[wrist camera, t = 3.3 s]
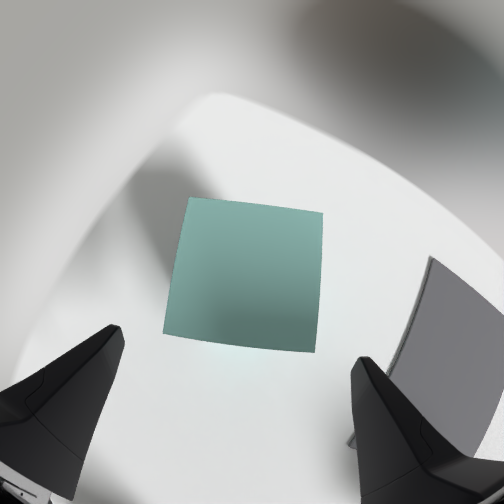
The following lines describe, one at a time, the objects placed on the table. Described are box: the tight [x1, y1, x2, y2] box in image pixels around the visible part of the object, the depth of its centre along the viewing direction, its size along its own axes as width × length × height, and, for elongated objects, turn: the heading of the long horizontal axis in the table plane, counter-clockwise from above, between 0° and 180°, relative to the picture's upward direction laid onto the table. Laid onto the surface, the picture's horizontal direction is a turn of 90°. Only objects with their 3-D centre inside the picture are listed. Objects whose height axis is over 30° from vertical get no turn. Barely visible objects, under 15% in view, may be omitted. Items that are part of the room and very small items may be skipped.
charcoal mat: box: [349, 258, 504, 458], centre depth 17 cm, size 18×18×1 cm
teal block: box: [163, 197, 323, 353], centre depth 14 cm, size 5×5×11 cm
